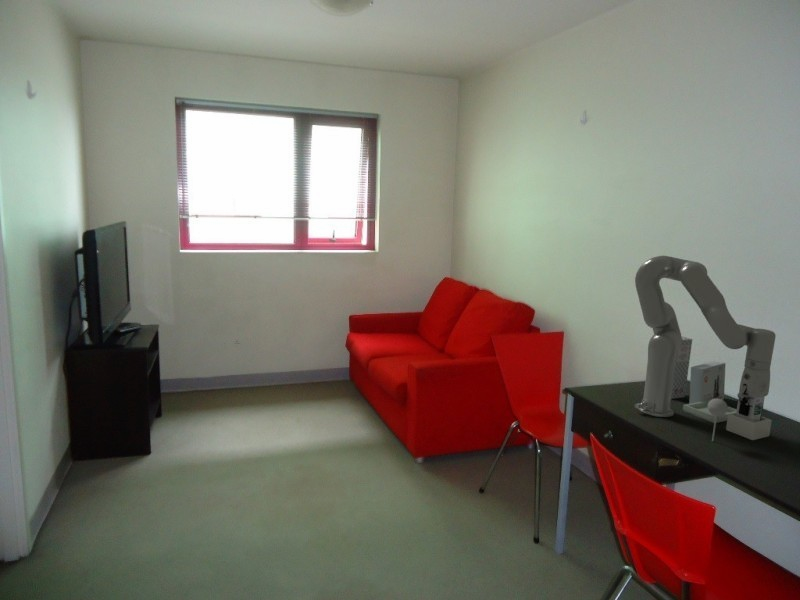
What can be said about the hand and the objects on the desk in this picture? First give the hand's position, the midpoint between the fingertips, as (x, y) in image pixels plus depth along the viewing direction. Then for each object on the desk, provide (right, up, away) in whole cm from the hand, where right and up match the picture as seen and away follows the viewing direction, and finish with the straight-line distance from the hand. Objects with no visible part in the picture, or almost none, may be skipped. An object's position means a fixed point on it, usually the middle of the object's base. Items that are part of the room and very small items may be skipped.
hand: (749, 413), depth 194 cm
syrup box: (0, -7, +1) cm, 7 cm away
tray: (-3, -4, +18) cm, 19 cm away
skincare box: (+3, -3, +32) cm, 32 cm away
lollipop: (-17, -8, -7) cm, 20 cm away
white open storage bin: (0, -7, +1) cm, 7 cm away
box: (-9, 0, +39) cm, 40 cm away
